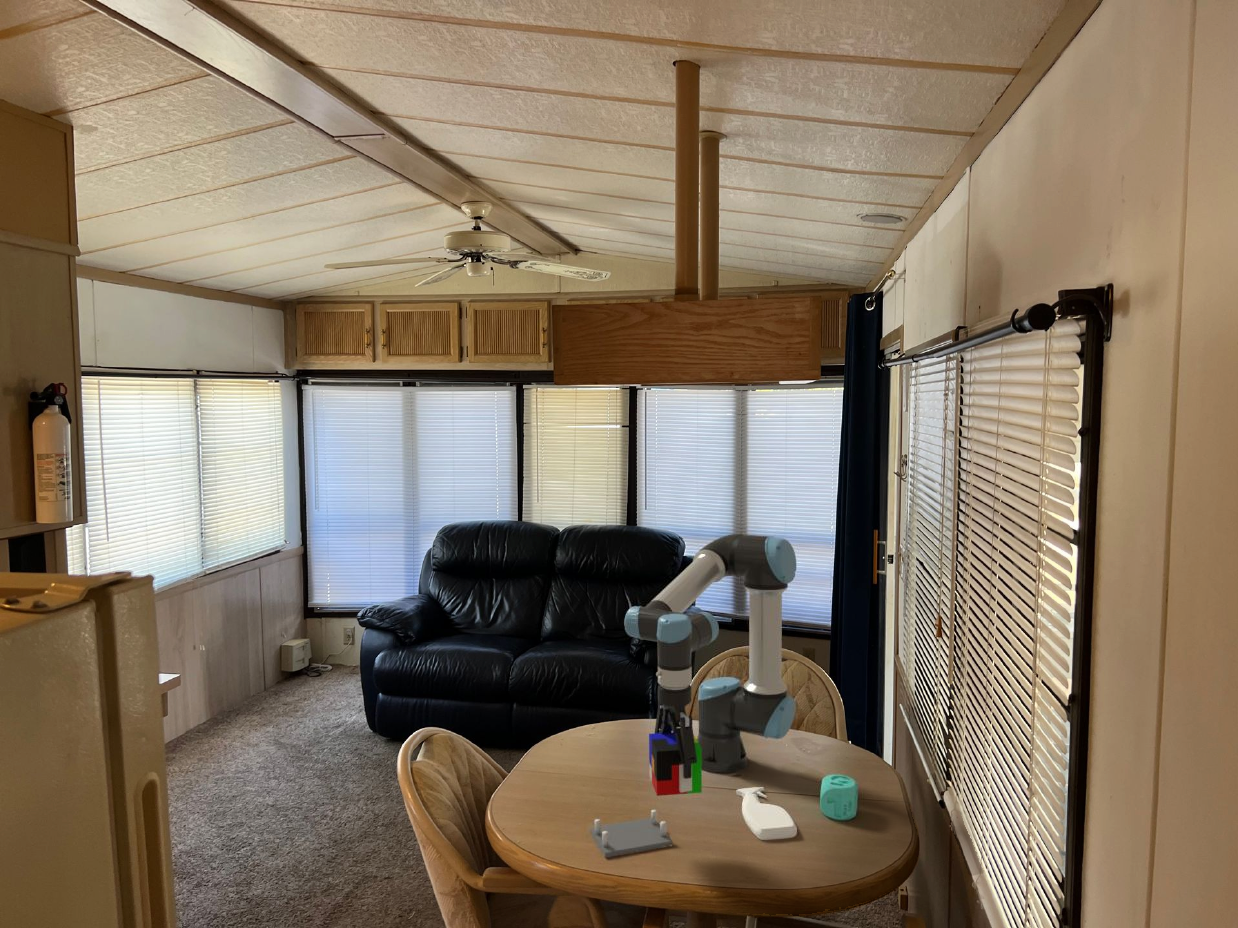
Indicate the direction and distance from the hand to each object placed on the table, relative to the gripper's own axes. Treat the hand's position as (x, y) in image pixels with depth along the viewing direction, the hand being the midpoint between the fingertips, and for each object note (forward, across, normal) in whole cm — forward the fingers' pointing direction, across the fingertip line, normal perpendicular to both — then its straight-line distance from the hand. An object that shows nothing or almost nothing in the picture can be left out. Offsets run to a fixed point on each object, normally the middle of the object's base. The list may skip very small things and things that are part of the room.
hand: (675, 779), depth 195 cm
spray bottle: (+17, -7, +26) cm, 32 cm away
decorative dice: (+16, -1, +44) cm, 47 cm away
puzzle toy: (+1, 0, 0) cm, 1 cm away
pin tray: (+16, -7, -8) cm, 19 cm away
